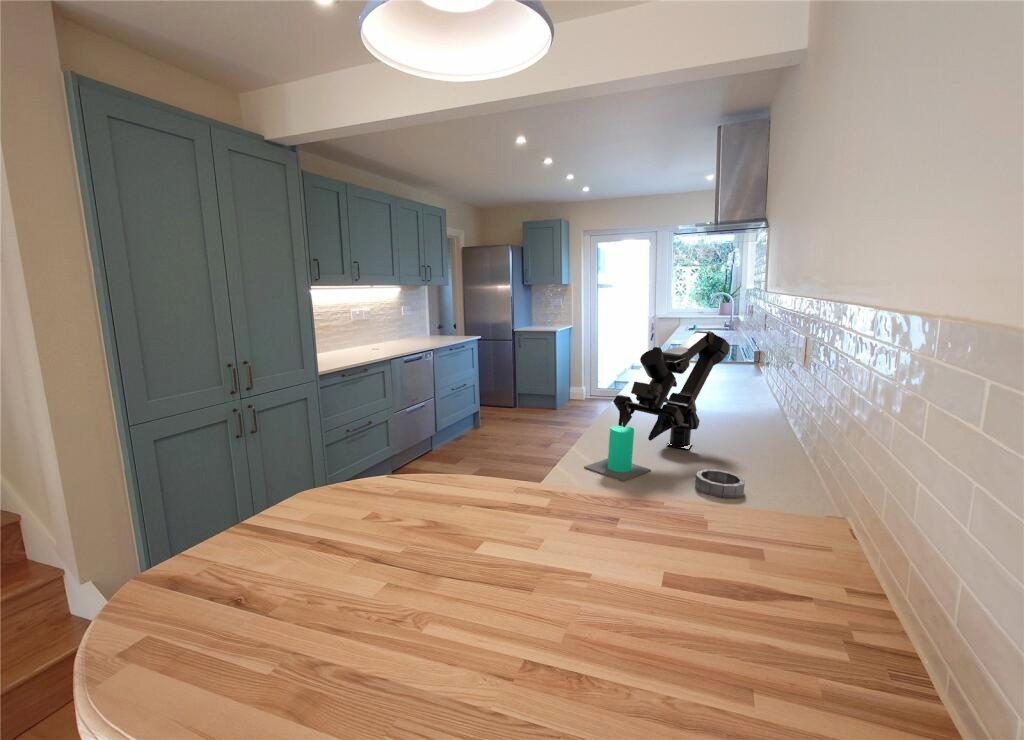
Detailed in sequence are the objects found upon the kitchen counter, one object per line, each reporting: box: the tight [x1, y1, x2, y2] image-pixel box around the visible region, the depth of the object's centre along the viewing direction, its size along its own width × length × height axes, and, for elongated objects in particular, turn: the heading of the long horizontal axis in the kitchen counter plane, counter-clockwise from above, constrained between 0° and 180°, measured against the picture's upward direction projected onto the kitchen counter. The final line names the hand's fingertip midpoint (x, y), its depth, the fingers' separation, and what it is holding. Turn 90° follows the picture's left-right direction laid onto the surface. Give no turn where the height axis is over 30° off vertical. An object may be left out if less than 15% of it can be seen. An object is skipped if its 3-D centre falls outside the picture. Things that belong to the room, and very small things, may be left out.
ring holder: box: [694, 468, 746, 500], centre depth 112 cm, size 10×10×3 cm
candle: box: [607, 422, 635, 472], centre depth 122 cm, size 6×6×12 cm
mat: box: [583, 457, 652, 483], centre depth 123 cm, size 12×12×1 cm
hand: (633, 435), depth 126 cm, fingers open, 9 cm apart
